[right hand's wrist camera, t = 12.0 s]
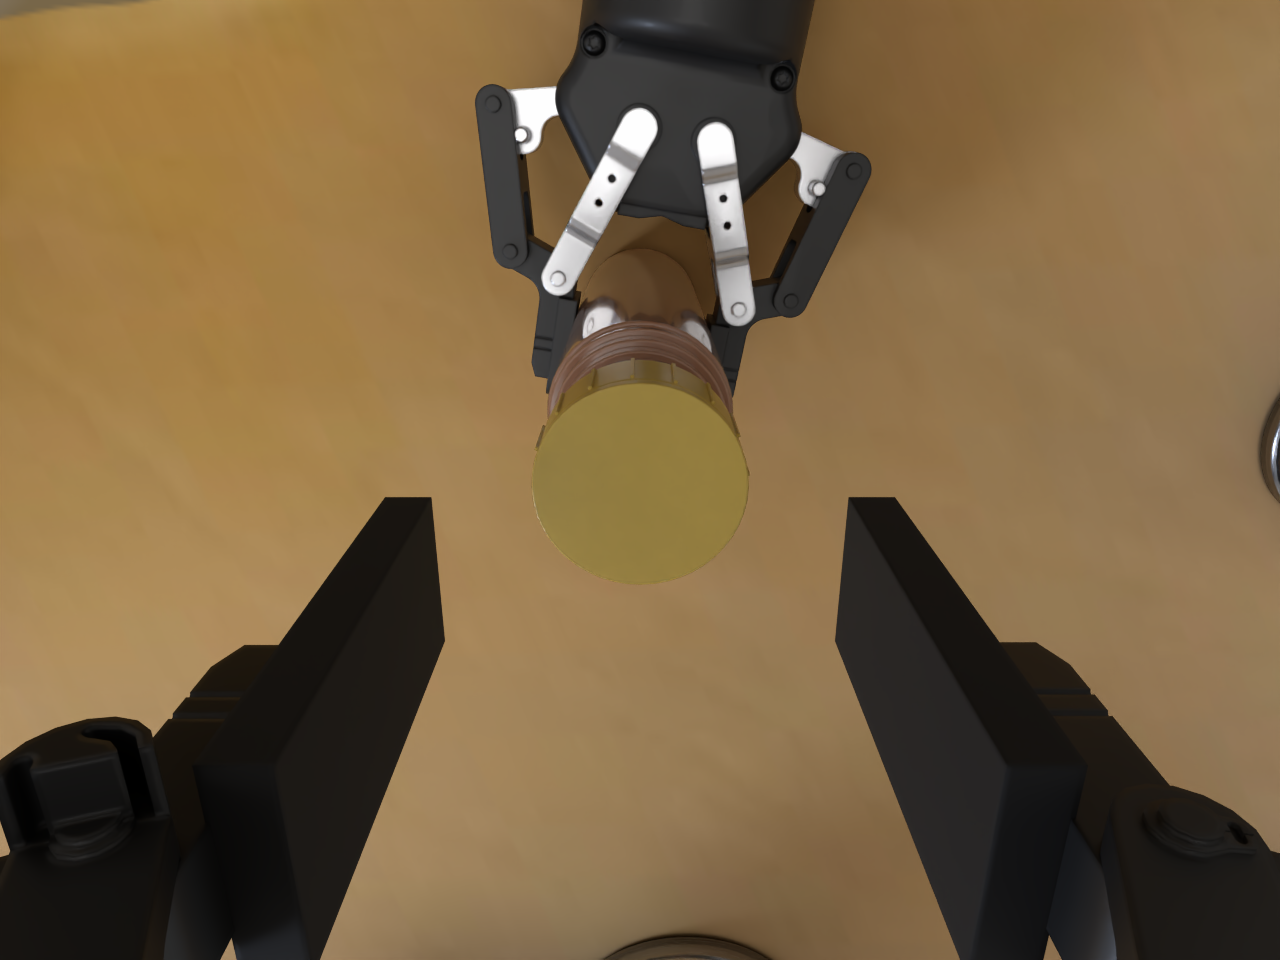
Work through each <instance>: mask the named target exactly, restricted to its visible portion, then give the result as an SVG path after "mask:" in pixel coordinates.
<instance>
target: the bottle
mask: <svg viewBox="0 0 1280 960" xmlns="http://www.w3.org/2000/svg"><path fill="white" fill-rule="evenodd" d="M631 358H635V360H649V361H657V362H662V363H667V364H670V365H671V364H672V363H675V365H676V367H679V368H681V369H683V370H685V371H687V372H690V373H691V374H693V375H694V376H696V377H698V378H699V379H701V380H702V381H703V382H704V383H707V382H708V383H709V384H710V385H711V389H712V390H713V391H714V392H715V393H716V394H717V395H718V397H719V398H720V399H721V400H722V402H723V403H724V405H725V406H726V408H727V410H728V412H729V414H730V413H732V414H733V400H732V394H731V389H730V386H729V383H728V380H727V377H726V374H725V371H724V369H723V366H722V363H721V360H720V358H719V355H718V352H717V350H716V347H715V344H714V342H713V339H712V336H711V333H710V331H709V328H708V325H707V323H706V320H705V317H704V315H703V312H702V309H701V307H700V304H699V301H698V298H697V296H696V293H695V290H694V288H693V285H692V283H691V280H690V278H689V277H688V275H687V273H686V272H685V270H684V269H683V268H682V267H681V266H680V265H679V264H678V263H677V262H676V261H675V260H673V259H672V258H670V257H669V256H667V255H665V254H663V253H661V252H658V251H655V250H651V249H642V248H638V249H630V250H625V251H622V252H619V253H617V254H615V255H613V256H611V257H610V258H608V259H607V260H606V261H604V262H603V263H602V264H601V265H600V266H599V267H598V268H597V270H596V271H595V272H594V274H593V275H592V277H591V279H590V281H589V283H588V286H587V288H586V291H585V294H584V297H583V299H582V302H581V305H580V307H579V310H578V313H577V315H576V318H575V321H574V324H573V326H572V329H571V332H570V334H569V337H568V340H567V342H566V345H565V348H564V350H563V353H562V356H561V359H560V361H559V364H558V367H557V369H556V372H555V375H554V377H553V380H552V384H551V387H550V390H549V396H548V406H547V415H548V419H549V417H550V414H551V412H552V410H553V409H554V407H555V405H556V404H557V402H558V400H559V397H560V394H561V393H562V392H563V393H565V392H566V391H567V390H568V389H569V388H570V387H571V386H572V385H574V384H575V383H576V382H577V381H578V380H580V379H581V378H583V377H584V376H586V375H587V374H589V373H591V370H592V369H593V368H595V369H596V370H597V369H599V368H601V367H604V366H607V365H610V364H613V363H618V362H623V361H631Z"/></svg>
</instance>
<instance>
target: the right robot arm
mask: <svg viewBox="0 0 1280 960" xmlns="http://www.w3.org/2000/svg"><path fill="white" fill-rule="evenodd" d="M444 642H445V637H444V626H443V616H442V605H441V594H440V584H439V573H438V563H437V552H436V542H435V531H434V520H433V510H432V499H431V497H385V498H384V500H383V501H382V502H381V504H380V505H379V507H378V508H377V509H376V511H375V512H374V513H373V515H372V516H371V518H370V519H369V520H368V522H367V523H366V525H365V526H364V527H363V529H362V530H361V531H360V533H359V534H358V536H357V537H356V538H355V540H354V541H353V543H352V544H351V545H350V547H349V548H348V549H347V551H346V552H345V554H344V555H343V556H342V558H341V559H340V561H339V562H338V563H337V565H336V566H335V568H334V569H333V570H332V572H331V573H330V574H329V576H328V577H327V579H326V580H325V581H324V583H323V584H322V586H321V587H320V588H319V590H318V591H317V592H316V594H315V595H314V597H313V598H312V599H311V601H310V602H309V604H308V605H307V606H306V608H305V609H304V610H303V612H302V613H301V615H300V616H299V617H298V619H297V620H296V622H295V623H294V624H293V626H292V627H291V629H290V630H289V631H288V633H287V634H286V635H285V637H284V638H283V640H282V641H281V642H280V644H279V645H244V646H242V647H241V648H239V649H238V650H236V651H235V652H233V653H232V654H230V655H229V656H227V657H226V658H224V659H222V660H221V661H219V662H218V663H216V664H215V665H213V666H212V667H211V668H210V669H209V670H208V671H207V673H206V674H205V675H204V676H203V677H202V679H201V680H200V681H199V682H198V684H197V685H196V686H195V687H194V688H193V690H192V691H191V692H190V697H186V698H185V699H184V701H183V702H182V703H181V704H180V705H179V707H178V708H177V709H176V710H175V712H174V713H173V718H172V719H168V720H167V721H166V723H165V724H164V725H163V726H162V727H161V729H160V730H159V731H158V732H157V733H156V735H155V736H154V737H152V733H151V730H150V729H148V728H147V727H146V726H144V725H143V724H142V723H140V722H139V721H138V720H132V719H126V718H121V717H106V718H94V719H86V720H82V721H79V722H75V723H71V724H68V725H64V726H61V727H57V728H54V729H52V730H50V731H48V732H46V733H44V734H41V735H39V736H37V737H35V738H33V739H31V740H28V741H26V742H25V743H23V744H22V745H21V746H19V747H18V748H16V749H15V750H14V751H12V752H11V753H9V754H8V755H7V756H5V757H4V758H2V759H1V760H0V822H1V825H2V828H3V831H4V834H5V837H6V840H7V843H8V845H9V848H10V853H9V855H6V856H3V857H0V960H220V959H221V957H222V955H223V953H224V951H225V949H226V947H227V945H228V944H229V942H230V940H231V938H232V941H233V946H234V950H235V954H236V959H237V960H320V958H321V955H322V953H323V950H324V948H325V945H326V943H327V940H328V938H329V935H330V932H331V930H332V927H333V925H334V922H335V920H336V917H337V915H338V912H339V909H340V907H341V904H342V902H343V899H344V897H345V894H346V892H347V889H348V887H349V884H350V881H351V879H352V876H353V874H354V871H355V869H356V866H357V864H358V861H359V859H360V856H361V853H362V851H363V848H364V846H365V843H366V841H367V838H368V836H369V833H370V831H371V828H372V825H373V823H374V820H375V818H376V815H377V813H378V810H379V808H380V805H381V803H382V800H383V797H384V795H385V792H386V790H387V787H388V785H389V782H390V780H391V777H392V774H393V772H394V769H395V767H396V764H397V762H398V759H399V757H400V754H401V752H402V749H403V746H404V744H405V741H406V739H407V736H408V734H409V731H410V729H411V726H412V724H413V721H414V718H415V716H416V713H417V711H418V708H419V706H420V703H421V701H422V698H423V696H424V693H425V690H426V688H427V685H428V683H429V680H430V678H431V675H432V673H433V670H434V667H435V665H436V662H437V660H438V657H439V655H440V652H441V650H442V647H443V645H444ZM835 642H836V645H837V647H838V650H839V652H840V655H841V657H842V660H843V662H844V665H845V667H846V670H847V673H848V675H849V678H850V680H851V683H852V685H853V688H854V690H855V693H856V696H857V698H858V701H859V703H860V706H861V708H862V711H863V713H864V716H865V718H866V721H867V724H868V726H869V729H870V731H871V734H872V736H873V739H874V741H875V744H876V746H877V749H878V752H879V754H880V757H881V759H882V762H883V764H884V767H885V769H886V772H887V774H888V777H889V780H890V782H891V785H892V787H893V790H894V792H895V795H896V797H897V800H898V803H899V805H900V808H901V810H902V813H903V815H904V818H905V820H906V823H907V825H908V828H909V831H910V833H911V836H912V838H913V841H914V843H915V846H916V848H917V851H918V853H919V856H920V859H921V861H922V864H923V866H924V869H925V871H926V874H927V876H928V879H929V881H930V884H931V887H932V889H933V892H934V894H935V897H936V899H937V902H938V904H939V907H940V909H941V912H942V915H943V917H944V920H945V922H946V925H947V927H948V930H949V932H950V935H951V938H952V940H953V943H954V945H955V948H956V950H957V953H958V955H959V958H960V960H1043V959H1044V954H1045V950H1046V946H1047V941H1048V937H1049V935H1050V937H1051V939H1052V941H1053V943H1054V945H1055V947H1056V949H1057V951H1058V953H1059V955H1060V957H1061V959H1062V960H1280V853H1276V852H1273V851H1270V849H1269V848H1268V846H1267V845H1266V843H1265V842H1264V841H1263V839H1262V838H1261V836H1260V835H1259V833H1258V832H1257V830H1256V829H1255V828H1253V827H1252V826H1251V825H1250V824H1249V823H1247V822H1246V821H1245V820H1244V819H1242V818H1241V817H1240V816H1239V815H1237V814H1236V813H1235V812H1234V811H1233V810H1231V809H1229V808H1227V807H1225V806H1223V805H1221V804H1219V803H1217V802H1215V801H1213V800H1212V799H1210V798H1208V797H1206V796H1204V795H1201V794H1198V793H1194V792H1191V791H1188V790H1185V789H1182V788H1178V787H1175V786H1170V785H1169V784H1168V783H1167V782H1166V780H1165V779H1164V778H1163V777H1162V776H1161V774H1160V773H1159V772H1158V771H1157V770H1156V768H1155V767H1154V766H1153V765H1152V763H1151V762H1150V761H1149V760H1148V759H1147V757H1146V756H1145V755H1144V754H1143V753H1142V751H1141V750H1140V749H1139V748H1138V747H1137V745H1136V744H1135V743H1134V742H1133V740H1132V739H1131V738H1130V737H1129V736H1128V734H1127V733H1126V732H1125V731H1124V730H1123V728H1122V727H1121V726H1120V725H1119V724H1118V722H1117V721H1116V720H1115V719H1114V717H1113V716H1108V710H1107V709H1106V708H1105V707H1104V705H1103V704H1102V703H1101V702H1100V701H1099V699H1098V698H1097V697H1096V696H1095V695H1091V693H1090V688H1089V687H1088V686H1087V685H1086V684H1085V682H1084V681H1083V680H1082V679H1081V678H1080V676H1079V675H1078V674H1077V673H1076V671H1075V670H1074V669H1073V668H1072V667H1071V665H1070V664H1068V663H1067V662H1065V661H1064V660H1062V659H1061V658H1059V657H1058V656H1056V655H1055V654H1053V653H1052V652H1050V651H1048V650H1047V649H1045V648H1044V647H1042V646H1041V645H1039V644H1038V643H1036V642H999V641H998V640H997V638H996V637H995V635H994V634H993V633H992V631H991V630H990V629H989V627H988V626H987V624H986V623H985V622H984V620H983V619H982V617H981V616H980V615H979V613H978V612H977V610H976V609H975V608H974V606H973V605H972V604H971V602H970V601H969V599H968V598H967V597H966V595H965V594H964V592H963V591H962V590H961V588H960V587H959V586H958V584H957V583H956V581H955V580H954V579H953V577H952V576H951V574H950V573H949V572H948V570H947V569H946V568H945V566H944V565H943V563H942V562H941V561H940V559H939V558H938V556H937V555H936V554H935V552H934V551H933V549H932V548H931V547H930V545H929V544H928V543H927V541H926V540H925V538H924V537H923V536H922V534H921V533H920V531H919V530H918V529H917V527H916V526H915V525H914V523H913V522H912V520H911V519H910V518H909V516H908V515H907V513H906V512H905V511H904V509H903V508H902V507H901V505H900V504H899V502H898V501H897V500H896V498H895V497H849V499H848V510H847V520H846V531H845V542H844V552H843V563H842V573H841V584H840V594H839V605H838V616H837V626H836V637H835ZM604 960H768V959H767V958H765V957H763V956H761V955H760V954H758V953H756V952H754V951H752V950H749V949H747V948H745V947H742V946H739V945H736V944H733V943H729V942H726V941H721V940H716V939H710V938H701V937H673V938H663V939H658V940H652V941H648V942H644V943H640V944H637V945H634V946H631V947H628V948H626V949H623V950H621V951H619V952H617V953H615V954H613V955H611V956H609V957H607V958H606V959H604Z"/></svg>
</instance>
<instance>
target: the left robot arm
mask: <svg viewBox="0 0 1280 960" xmlns="http://www.w3.org/2000/svg"><path fill="white" fill-rule="evenodd" d="M814 1H815V0H583V3H582V11H581V19H580V27H579V34H578V41H577V46H576V50H575V53H574V56H573V58H572V60H571V62H570V64H569V66H568V67H567V69H566V70H565V71H564V73H563V74H562V76H561V77H560V79H559V81H558V84H557V86H553V87H539V88H525V89H511V90H508V89H506V88H503V87H501V86H499V85H495V84H489V85H486V86H484V87H483V88H481V89H480V90H479V92H478V93H477V96H476V99H475V107H476V115H477V123H478V131H479V140H480V148H481V156H482V164H483V172H484V181H485V189H486V197H487V205H488V213H489V222H490V230H491V238H492V246H493V254H494V257H495V259H496V261H497V262H498V263H499V264H500V265H501V266H503V267H505V268H508V269H513V270H515V271H517V272H519V273H520V274H522V275H524V276H526V277H527V278H529V279H530V280H532V281H533V282H534V284H535V285H536V286H537V288H538V291H539V296H540V301H539V309H538V316H537V324H536V332H535V340H534V348H533V355H532V366H533V370H534V373H535V376H537V377H543V378H548V380H547V388H546V393H547V394H549V390H550V387H551V384H552V380H553V377H554V375H555V372H556V369H557V367H558V364H559V361H560V359H561V356H562V353H563V350H564V348H565V345H566V342H567V340H568V337H569V334H570V332H571V329H572V326H573V324H574V321H575V318H576V315H577V313H578V310H579V304H580V297H581V292H580V291H576V289H577V282H578V277H579V276H580V274H581V272H582V270H583V268H584V266H585V265H586V263H587V261H588V259H589V257H590V255H591V254H592V252H593V250H594V248H595V246H596V244H597V243H598V241H599V239H600V237H601V236H602V234H603V232H604V230H605V228H606V226H607V225H608V223H609V221H610V219H611V217H612V215H613V214H614V212H615V211H616V212H618V215H624V216H630V217H635V218H646V217H656V216H663V217H666V218H668V219H670V220H672V221H674V222H676V223H678V224H680V225H682V226H686V227H692V228H697V229H703V230H705V235H706V242H707V248H708V253H709V257H710V262H711V269H712V275H713V281H714V288H715V294H716V302H715V307H714V312H713V315H711V314H707V318H706V323H707V325H708V328H709V331H710V333H711V336H712V339H713V342H714V344H715V347H716V350H717V352H718V355H719V358H720V360H721V363H722V366H723V369H724V371H725V374H726V377H727V380H728V383H729V386H730V389H731V394H732V397H733V395H734V390H735V385H736V380H737V376H738V371H739V367H740V362H741V358H742V353H743V348H744V344H745V339H746V335H747V332H748V330H749V329H750V327H751V326H752V325H753V324H754V323H756V322H757V321H759V320H762V319H766V318H772V317H777V316H784V317H788V318H792V317H796V316H798V315H800V314H801V313H802V312H803V311H804V310H805V308H806V306H807V304H808V302H809V300H810V298H811V296H812V294H813V292H814V290H815V288H816V286H817V284H818V282H819V280H820V278H821V276H822V274H823V272H824V270H825V268H826V265H827V263H828V261H829V259H830V257H831V255H832V253H833V251H834V249H835V247H836V245H837V243H838V241H839V239H840V237H841V235H842V233H843V231H844V229H845V227H846V225H847V223H848V221H849V219H850V217H851V215H852V213H853V211H854V208H855V206H856V204H857V202H858V200H859V198H860V196H861V194H862V192H863V190H864V188H865V186H866V184H867V182H868V180H869V178H870V175H871V164H870V161H869V160H868V158H867V157H866V156H865V155H863V154H861V153H857V152H853V151H841V150H839V149H837V148H835V147H833V146H831V145H829V144H827V143H824V142H822V141H820V140H818V139H816V138H814V137H812V136H810V135H807V134H805V133H803V132H802V125H801V119H800V116H799V112H798V109H797V102H796V87H797V80H798V76H799V71H800V66H801V62H802V57H803V52H804V48H805V43H806V38H807V34H808V29H809V24H810V20H811V15H812V10H813V6H814ZM558 116H559V117H560V119H561V121H562V123H563V125H564V127H565V129H566V131H567V133H568V135H569V138H570V140H571V142H572V144H573V146H574V148H575V150H576V152H577V154H578V156H579V158H580V160H581V162H582V164H583V166H584V168H585V170H586V173H587V175H588V177H589V179H590V182H589V184H588V186H587V187H586V189H585V191H584V193H583V195H582V197H581V199H580V201H579V203H578V204H577V206H576V208H575V210H574V212H573V214H572V216H571V218H570V220H569V222H568V224H567V226H566V228H565V230H564V232H563V234H562V236H561V237H560V239H559V241H558V243H557V245H556V247H555V248H554V247H552V246H550V245H548V244H547V243H545V242H543V241H541V240H540V239H538V238H536V237H535V236H534V228H533V219H532V209H531V200H530V190H529V180H528V171H527V161H526V154H529V153H533V152H535V151H537V150H538V149H539V148H540V147H541V145H542V143H543V140H544V130H545V127H546V125H547V123H548V122H549V121H550V120H551V119H553V118H555V117H558ZM789 159H790V160H791V161H792V162H793V163H794V165H795V168H796V172H797V176H796V180H795V184H794V192H795V195H796V197H797V199H798V200H799V201H801V202H802V203H804V206H803V208H802V210H801V212H800V214H799V216H798V219H797V221H796V223H795V225H794V227H793V229H792V231H791V234H790V236H789V238H788V240H787V242H786V244H785V246H784V248H783V251H782V253H781V255H780V257H779V259H778V261H777V263H776V265H775V268H774V270H773V272H772V274H771V276H770V278H766V279H761V280H755V281H752V280H751V273H750V266H749V250H748V242H747V235H746V228H745V221H744V214H743V207H742V205H743V204H744V203H745V202H746V201H747V200H748V199H749V198H750V197H751V196H752V195H753V194H754V193H755V192H756V191H757V190H758V189H759V188H760V187H761V186H762V185H763V184H764V183H765V182H766V181H767V180H768V179H769V178H770V177H771V176H772V175H773V174H774V173H775V172H776V171H777V170H778V169H779V168H780V167H781V166H782V165H783V164H785V163H786V162H787V161H788V160H789ZM600 199H601V200H600ZM1261 464H1262V471H1263V475H1264V478H1265V481H1266V483H1267V486H1268V488H1269V489H1270V491H1271V493H1272V494H1273V496H1274V497H1275V498H1276V499H1277V501H1278V502H1279V503H1280V399H1279V400H1278V402H1277V404H1276V405H1275V407H1274V409H1273V411H1272V413H1271V415H1270V417H1269V420H1268V422H1267V425H1266V428H1265V431H1264V435H1263V440H1262V447H1261Z"/></svg>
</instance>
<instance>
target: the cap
mask: <svg viewBox="0 0 1280 960" xmlns="http://www.w3.org/2000/svg"><path fill="white" fill-rule="evenodd" d="M738 437H740V433H739V430H738V427H737V424H736V422H735V419H734V416H733V414H732V413H730V414H729V412H728V410H727V408H726V406H725V405H724V403H723V402H722V400H721V399H720V398H719V397H718V395H717V394H716V393H715V392H714V391H713V390H712V389H711V385H710V384H709V383H708V382H707V383H704V382H703V381H702V380H701V379H699V378H698V377H696V376H694V375H693V374H691V373H690V372H687V371H685V370H683V369H681V368H679V367H676V365H675V363H672V364H671V365H670V364H667V363H662V362H657V361H649V360H635V358H631V361H623V362H618V363H613V364H610V365H607V366H604V367H601V368H599V369H597V370H596V369H595V368H593V369H592V370H591V373H589V374H587V375H586V376H584V377H583V378H581V379H580V380H578V381H577V382H576V383H575V384H574V385H572V386H571V387H570V388H569V389H568V390H567V391H566V392H565V393H563V392H562V393H561V394H560V397H559V400H558V402H557V404H556V405H555V407H554V409H553V410H552V412H551V414H550V417H549V419H548V421H547V424H546V426H544V425H543V427H542V430H541V433H540V436H539V439H538V441H537V444H536V447H535V450H536V451H537V454H536V457H535V460H534V465H533V471H532V495H533V502H534V506H535V510H536V514H537V516H538V519H539V521H540V523H541V526H542V528H543V529H544V531H545V533H546V534H547V536H548V538H549V539H550V540H551V541H552V543H553V544H554V545H555V547H556V548H557V549H558V550H559V551H560V552H561V553H562V554H563V555H564V556H565V557H566V558H568V559H569V560H570V561H572V562H573V563H574V564H575V565H577V566H578V567H580V568H582V569H584V570H585V571H587V572H589V573H591V574H593V575H596V576H598V577H600V578H603V579H607V580H610V581H614V582H619V583H625V584H639V585H642V584H655V583H661V582H667V581H670V580H673V579H677V578H680V577H682V576H685V575H687V574H689V573H691V572H693V571H695V570H697V569H698V568H700V567H702V566H704V565H705V564H706V563H708V562H709V561H710V560H711V559H713V558H714V557H715V556H716V555H717V554H718V553H719V552H720V551H721V550H722V549H723V548H724V547H725V546H726V544H727V543H728V542H729V541H730V539H731V538H732V537H733V535H734V533H735V531H736V530H737V528H738V526H739V524H740V522H741V519H742V517H743V514H744V511H745V507H746V503H747V498H748V489H749V481H748V476H749V470H748V467H747V464H746V459H745V456H744V453H743V450H742V447H741V444H740V441H739V438H738Z"/></svg>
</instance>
